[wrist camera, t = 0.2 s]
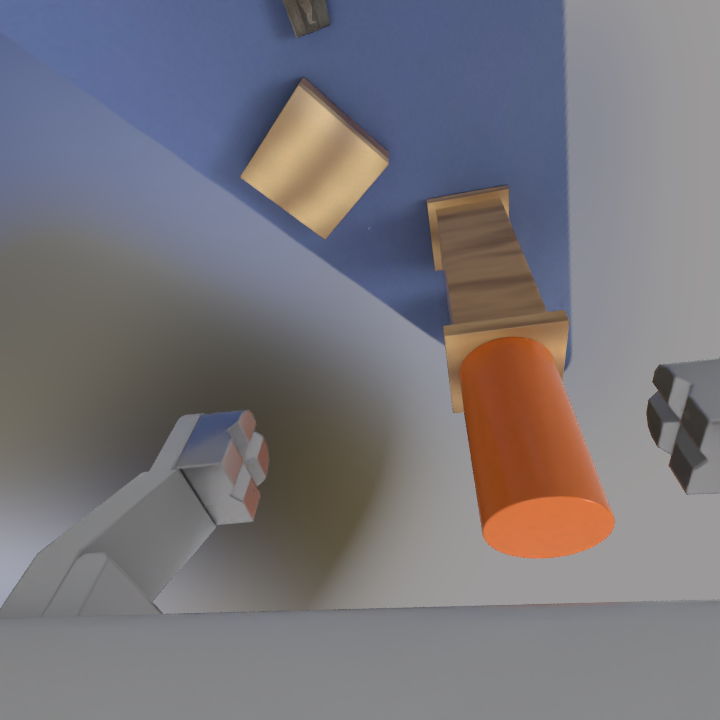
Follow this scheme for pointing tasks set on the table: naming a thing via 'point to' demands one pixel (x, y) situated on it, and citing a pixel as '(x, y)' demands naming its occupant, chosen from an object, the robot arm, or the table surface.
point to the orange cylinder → (529, 454)
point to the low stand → (315, 161)
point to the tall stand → (487, 281)
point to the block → (307, 15)
